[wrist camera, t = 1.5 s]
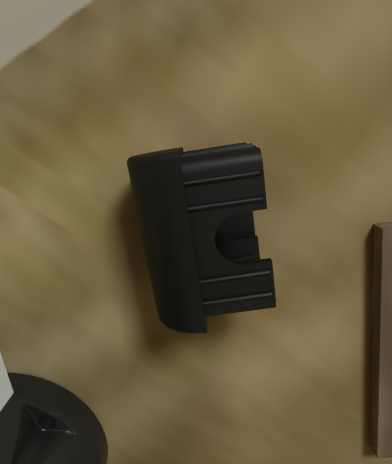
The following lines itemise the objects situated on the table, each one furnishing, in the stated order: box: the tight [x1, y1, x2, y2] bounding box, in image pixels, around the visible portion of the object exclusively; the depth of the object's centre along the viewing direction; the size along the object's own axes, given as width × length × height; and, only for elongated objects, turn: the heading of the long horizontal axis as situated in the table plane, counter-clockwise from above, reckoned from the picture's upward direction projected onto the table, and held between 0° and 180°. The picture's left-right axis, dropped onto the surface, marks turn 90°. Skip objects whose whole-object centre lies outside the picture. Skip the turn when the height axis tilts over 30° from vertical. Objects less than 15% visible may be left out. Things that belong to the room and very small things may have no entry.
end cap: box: [127, 143, 276, 333], centre depth 21 cm, size 10×7×7 cm
